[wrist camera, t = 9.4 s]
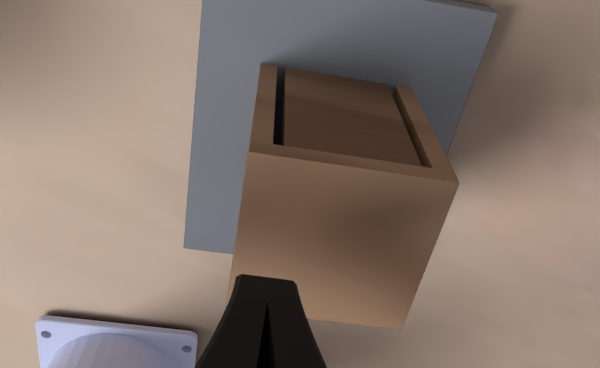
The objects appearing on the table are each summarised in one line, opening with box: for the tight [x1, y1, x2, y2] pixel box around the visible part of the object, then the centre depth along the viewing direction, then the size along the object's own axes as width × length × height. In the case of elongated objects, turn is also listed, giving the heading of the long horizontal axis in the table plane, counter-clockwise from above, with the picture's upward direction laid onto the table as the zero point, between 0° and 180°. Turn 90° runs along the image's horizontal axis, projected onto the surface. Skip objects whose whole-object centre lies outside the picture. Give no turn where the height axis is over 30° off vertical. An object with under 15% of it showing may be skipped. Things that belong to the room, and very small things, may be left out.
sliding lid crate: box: [226, 63, 459, 330], centre depth 18 cm, size 6×6×7 cm
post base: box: [184, 0, 498, 254], centre depth 20 cm, size 12×10×5 cm
